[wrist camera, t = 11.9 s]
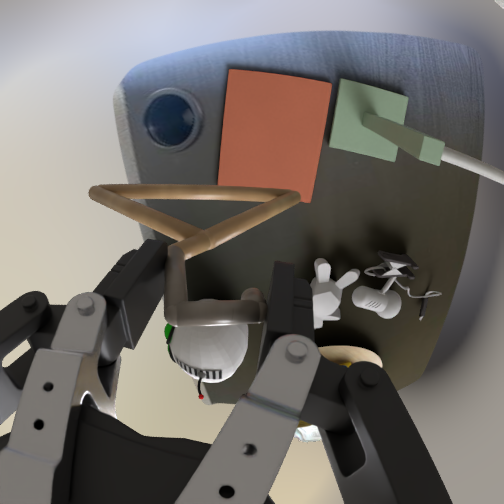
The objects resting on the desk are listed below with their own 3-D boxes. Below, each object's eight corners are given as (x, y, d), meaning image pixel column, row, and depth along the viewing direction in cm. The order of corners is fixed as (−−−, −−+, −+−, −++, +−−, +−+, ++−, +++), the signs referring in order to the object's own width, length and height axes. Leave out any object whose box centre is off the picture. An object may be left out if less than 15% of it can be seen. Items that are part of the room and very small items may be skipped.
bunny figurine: (281, 327, 53) (312, 267, 44) (283, 306, 57) (312, 247, 48) (329, 339, 53) (368, 284, 44) (328, 318, 58) (364, 263, 48)
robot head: (177, 271, 55) (134, 352, 38) (255, 282, 54) (238, 373, 37) (184, 333, 63) (154, 409, 46) (250, 343, 62) (235, 426, 45)
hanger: (91, 196, 17) (23, 327, 8) (90, 182, 17) (15, 307, 7) (296, 200, 20) (387, 314, 11) (298, 188, 20) (396, 297, 11)
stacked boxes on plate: (374, 391, 67) (382, 447, 53) (280, 400, 72) (275, 455, 58) (384, 325, 56) (401, 393, 41) (264, 338, 61) (255, 406, 46)
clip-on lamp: (438, 268, 51) (377, 239, 45) (456, 287, 45) (396, 261, 40) (405, 314, 56) (340, 296, 50) (419, 335, 50) (353, 321, 45)
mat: (230, 69, 36) (229, 68, 35) (331, 83, 35) (332, 83, 35) (218, 186, 45) (217, 188, 45) (309, 201, 45) (310, 203, 44)
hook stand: (339, 78, 35) (385, 68, 17) (455, 115, 34) (550, 149, 16) (328, 145, 40) (359, 196, 22) (441, 175, 39) (520, 240, 21)
